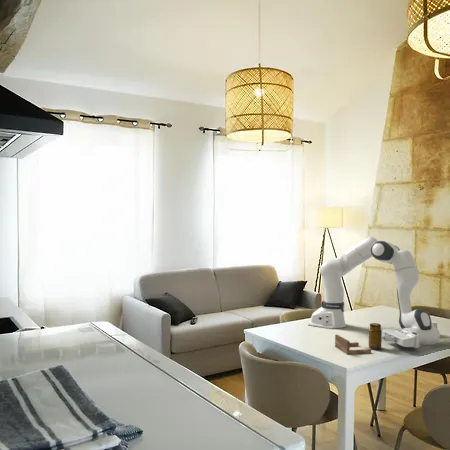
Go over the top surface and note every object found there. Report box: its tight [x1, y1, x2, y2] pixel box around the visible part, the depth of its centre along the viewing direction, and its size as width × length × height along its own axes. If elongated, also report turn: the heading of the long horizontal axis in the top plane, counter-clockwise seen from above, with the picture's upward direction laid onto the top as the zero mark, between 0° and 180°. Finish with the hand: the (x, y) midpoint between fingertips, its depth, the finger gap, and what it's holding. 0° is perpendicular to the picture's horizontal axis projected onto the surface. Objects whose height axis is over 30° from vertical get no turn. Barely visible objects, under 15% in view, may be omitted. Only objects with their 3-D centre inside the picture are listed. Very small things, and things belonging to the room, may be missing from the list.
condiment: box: [365, 322, 389, 352], centre depth 234 cm, size 7×8×12 cm
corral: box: [334, 334, 372, 355], centre depth 231 cm, size 12×13×6 cm
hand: (383, 338), depth 235 cm, fingers closed
